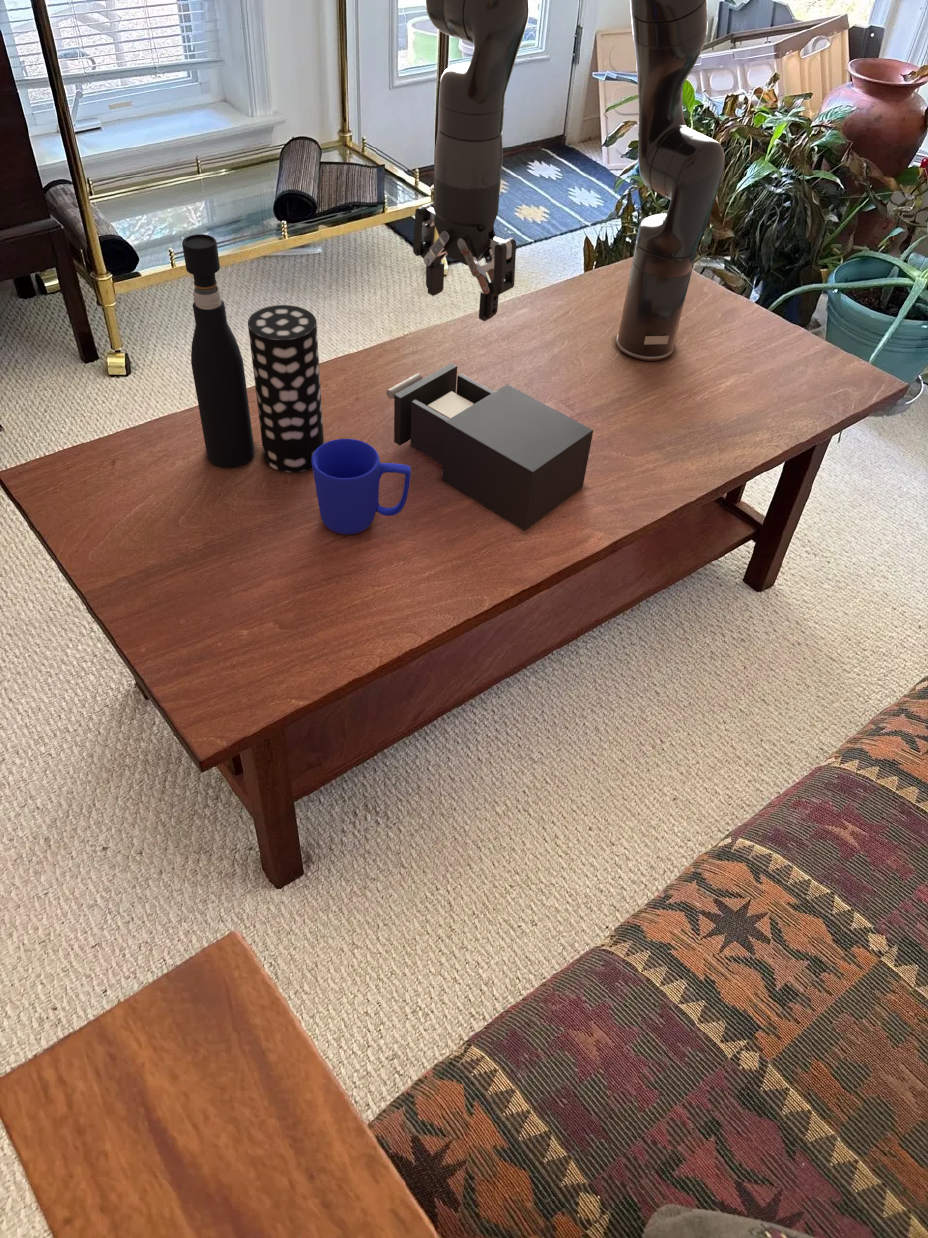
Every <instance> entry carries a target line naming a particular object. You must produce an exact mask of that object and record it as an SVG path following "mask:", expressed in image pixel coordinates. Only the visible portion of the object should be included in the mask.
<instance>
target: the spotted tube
mask: <svg viewBox="0 0 928 1238" xmlns="http://www.w3.org/2000/svg"><path fill="white" fill-rule="evenodd" d="M317 324H318V323H317V319H316V316H315V315H314V314H313V313H312V312H311V311H309V310H308V309H306V308H303V307H300V306H295V305H290V304H277V305H269V306H266V307H262V308H260V309H258V310H256V311H255V312H253V313H252V314H251V315H250V316H249V318H248V319H247V329H248V336H249V337H248V338H249V345H250V354H251V361H252V370H253V371H252V372H253V380H254V386H255V395H256V403H257V412H258V419H259V420H258V421H259V429H260V436H261V444H262V452H263V454H262V455H263V459H264V461H265V463H266V464H267V465H268V466H269V467H271V468H272V469H275V470H277V471H280V472H284V473H301V472H306V471H309V470H313V468H312V462H311V459H312V455H313V453H314V451H315V450H316V449H317V448H318V447H319V446H321V445H322V444H324V443H325V437H324V422H323V407H322V406H323V405H322V389H321V373H320V359H319V358H320V357H319V342H318V341H319V339H318V325H317Z"/></svg>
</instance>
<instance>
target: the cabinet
mask: <svg viewBox="0 0 928 1238" xmlns="http://www.w3.org/2000/svg"><path fill="white" fill-rule="evenodd" d="M593 434H594V429H592V428H590V427H589V426H586V424H583V423H581V422H580V421H578V420H575V419H574V418H572V417H570V416H568V415H566V414H564V413H562V412H561V411H559V410H557V409H555V408H553V407H551V406H549V405H548V404H545V403H544V402H542V401H540V400H538V399H537V398H535V397H533V396H531V395H528V394H527V393H525V392H523V391H521V390H520V389H517V388H515V387H514V386H512V385H510V384H509V383H506V384H505V385H504V386H501V387H500V388H499V389H496V390H494V392H493V393H492V394H490V395H488V396H487V397H485V398H483V399H482V400H480V401H479V402H477V403H475V404H474V405H472V406H470V407H469V408H467V409H465V410H464V411H462V412H460V413H459V414H457V415H455V416H454V417H452V418H450V419H449V420H447V421H445V432H444V452H443V465H442V474H441V475H442V476H441V481H443V482H444V483H446V484H447V485H449V486H451V487H452V488H454V489H456V490H457V491H458V492H460V493H462V494H464V495H465V496H467V497H469V498H470V499H472V500H474V501H475V502H477V503H479V504H480V505H481V506H483V507H485V508H486V509H488V510H490V511H491V512H493V513H494V514H496V515H498V516H499V517H501V518H503V519H504V520H506V521H508V522H509V523H511V524H512V525H514V526H516V527H517V528H519V529H520V530H522V531H524V532H526V531H527V530H528V529H529V528H531V527H532V526H534V525H535V524H537V523H538V522H539V521H541V520H542V519H543V518H544V517H545V516H548V514H550V513H551V512H553V511H554V510H556V508H558V507H559V506H560V505H562V504H563V503H564V502H566V501H567V500H568V499H570V498H571V497H572V496H574V495H575V494H577V493H578V492H579V491H580V490H582V489H583V487H584V482H585V477H586V472H587V466H588V461H589V456H590V452H591V445H592V441H593Z"/></svg>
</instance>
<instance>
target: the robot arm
mask: <svg viewBox="0 0 928 1238" xmlns="http://www.w3.org/2000/svg"><path fill="white" fill-rule="evenodd" d="M629 2H630V3H629V4H630V6H629V7H630V16H631V29H632V37H633V38H632V39H633V45H634V52H635V64H636V78H637V79H636V80H637V82H636V83H637V95H638V97H637V98H638V146H637V147H638V148H637V149H638V150H637V153H638V154H637V155H638V170H639V175H640V178H641V180H642V182H643V184H644V185H645V186H646V187H647V188H648V189H650V190H651V191H653V192H654V193H656V194H658V195H659V196H661V197H663V198H665V199H667V200H669V201H670V202H669V205H668V209H667V212H666V213H665V212H663V213H657V214H652V215H649V216H646V217H645V218H644V219H643V220H642V221H641V222H640V223H639V226H638V230H637V234H636V241H635V246H634V249H633V255H632V261H631V267H630V271H629V277H628V282H627V286H626V293H625V298H624V303H623V307H622V312H621V317H620V322H619V327H618V333H617V335H616V340H615V343H616V347H617V348H618V350H619V351H620V352H622V353H623V354H625V355H626V356H628V357H631V358H633V359H637V360H642V361H650V362H651V361H660V360H664V359H667V358H668V357H670V356H671V355H672V354H673V352H674V349H675V341H676V338H677V334H678V330H679V326H680V322H681V317H682V313H683V309H684V304H685V301H686V296H687V293H688V289H689V286H690V281H691V276H692V273H693V268H694V263H695V260H696V256H697V252H698V248H699V244H700V241H701V239H702V237H703V236H704V234H705V231H706V230H707V227H708V225H709V222H710V218H711V215H712V213H713V212H712V211H713V209H714V205H715V202H716V199H717V195H718V192H719V189H720V186H721V182H722V179H723V175H724V169H725V163H726V162H725V161H726V160H725V159H726V158H725V152H724V148H723V146H722V145H721V144H720V143H719V141H717V140H715V139H713V138H712V137H709V136H707V135H705V134H703V133H701V132H698V131H696V130H695V129H692V128H690V127H688V125H687V124H686V122H685V121H686V120H685V117H684V107H683V90H684V85H685V82H686V81H687V79H688V76H689V75H690V73H691V71H692V69H693V68H694V66H695V65H696V64H697V61H698V59H699V57H700V56H701V53H702V51H703V49H704V46H705V44H706V40H707V36H708V25H709V23H708V21H709V20H708V0H629ZM424 4H425V10H426V13H427V17H428V19H429V20H430V22H431V24H432V25H433V26H434V27H435V28H436V29H437V30H438V31H440V32H441V33H443V34H445V35H447V36H450V37H452V38H455V39H458V40H461V41H463V42H466V43H470V44H473V52H472V56H471V59H470V61H469V62H462V63H461V62H460V63H456V64H452V65H450V66H449V67H447V68H446V69H445V70H444V71H443V73H442V75H441V77H440V80H439V81H440V82H439V89H438V90H439V92H438V120H437V121H438V122H437V125H438V126H437V134H436V142H435V147H434V148H435V150H434V169H433V170H434V171H433V173H434V174H433V175H434V176H433V200H432V201H433V202H429V203H426V204H423V205H421V206H419V207H417V208H415V211H414V227H413V241H412V242H413V243H412V251H413V254H414V256H416V257H419V256H420V257H421V258H422V259H423V264H424V265H425V266H426V267H425V285H426V289H427V294H428V295H430V296H432V297H434V296H437V295H438V294H441V293H442V292H443V291H444V284H445V283H444V282H445V263H444V262H443V261H442V260H444V259H445V258H446V257H448V258H450V259H453V260H458V261H459V262H460V263H461V264H463V265H465V266H468V268H469V271H470V273H471V275H472V277H474V278H476V279H477V282H478V285H479V287H480V289H481V291H480V293H479V295H480V296H479V308H478V319H479V320H481V321H483V322H486V321H488V320H490V319H492V318H494V316H495V315H497V313H498V308H499V297H500V295H502V294H504V293H506V292H507V291H509V290H511V289H513V288H514V287H515V280H516V279H515V278H516V259H517V257H516V255H517V242H516V239H515V238H514V237H510V238H507V239H503V238H501V237H498V236H497V235H496V231H495V222H496V219H497V217H498V214H499V208H500V194H501V184H502V183H501V181H502V170H503V158H504V156H503V155H504V145H503V128H504V117H505V116H504V115H505V104H506V102H505V101H506V93H507V89H508V86H509V83H510V80H511V76H512V73H513V70H514V68H515V67H514V66H515V63H516V60H517V57H518V54H519V50H520V48H521V45H522V42H523V39H524V36H525V33H526V30H527V27H528V22H529V16H530V0H425V3H424ZM435 233H437V234H438V238H436V240H435ZM483 259H484V260H485V263H484V264H483V265H480V264H479V262H480V261H482V260H483ZM488 277H489V278H488Z"/></svg>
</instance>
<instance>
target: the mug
mask: <svg viewBox="0 0 928 1238" xmlns="http://www.w3.org/2000/svg"><path fill="white" fill-rule="evenodd" d="M311 462H312V475H313V479H314V487H315V492H316V497H317V503H318V504H317V505H318V509H319V514H320V518H321V521H322V523H323V524H324V526H325V527H326V528H327V529H329V530H330V531H331V532H333V533H336V534H340V535H346V536H347V535H348V536H349V535H357V534H359V533H362V532H364V531H365V530H367V529H368V528H369V527H370V526H371V525H372V522H373V521H374V518H375V516H376V512H377V513H378V514H380V515H382V516H385V517H392V516H397V515H398V514H399V513H400V512H402V510H403V509H404V508H405V505H406V503H407V500H408V496H409V491H410V490H409V489H410V484H411V475H412V468H411V466H410V465H408V464H404V463H395V462H393V463H392V462H381V461H380V456H379V453H378V451H377V450H376V449H375V448H374V446H372V445H371V444H369V443H367V442H365V441H363V440H359V439H354V438H337V439H332V440H329V441H327V442H324V444H322V445H321V446H319V447H318V448H317V449H316V450H315V451H314V453H313V455H312V459H311ZM387 473H396V474H403V475H404V484H403V490H402V494H401V498H400V500H399V501H398V504H396V505H395V506H392V507H385V506H382V505H381V504H380V502H379V500H380V499H379V498H380V497H379V495H380V482H381V478H382V476H383V475H384V474H387Z"/></svg>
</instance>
